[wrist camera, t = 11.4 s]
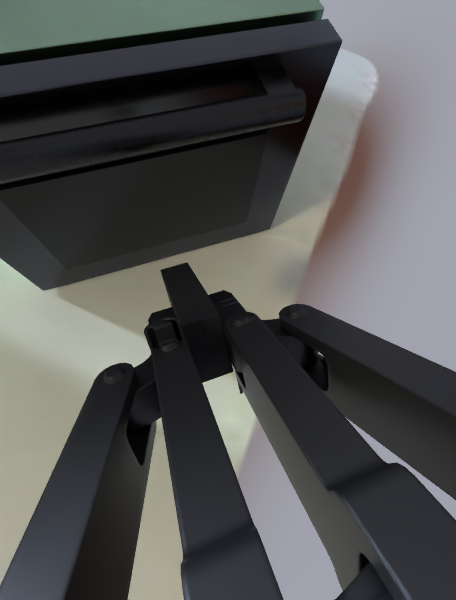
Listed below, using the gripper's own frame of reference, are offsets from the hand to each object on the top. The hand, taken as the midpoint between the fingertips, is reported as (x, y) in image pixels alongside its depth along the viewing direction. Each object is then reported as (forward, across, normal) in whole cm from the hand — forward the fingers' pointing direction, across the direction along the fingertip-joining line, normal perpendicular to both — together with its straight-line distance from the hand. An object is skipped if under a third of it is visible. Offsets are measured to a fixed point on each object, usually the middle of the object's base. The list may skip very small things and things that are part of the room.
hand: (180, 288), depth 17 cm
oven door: (+10, 0, -1) cm, 10 cm away
